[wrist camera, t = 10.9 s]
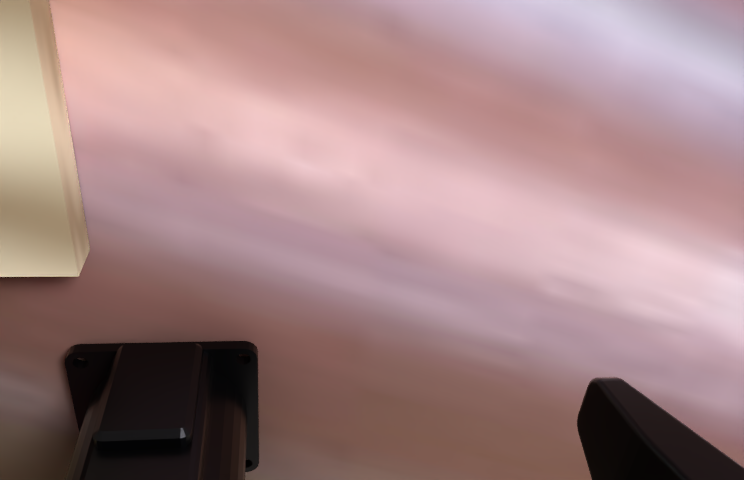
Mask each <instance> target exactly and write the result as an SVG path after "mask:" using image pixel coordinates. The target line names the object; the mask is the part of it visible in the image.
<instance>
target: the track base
mask: <svg viewBox="0 0 744 480" xmlns="http://www.w3.org/2000/svg"><path fill="white" fill-rule="evenodd" d="M89 251H90V246H89V240H88V234H87V228H86V222H85V216H84V210H83V204H82V198H81V191H80V185H79V179H78V173H77V167H76V161H75V155H74V149H73V143H72V137H71V131H70V125H69V119H68V113H67V107H66V101H65V95H64V89H63V83H62V77H61V71H60V64H59V58H58V52H57V46H56V40H55V34H54V28H53V22H52V16H51V10H50V4H49V0H0V277H75V276H79V275H80V272H81V270H82V267H83V265H84V263H85V260H86V258H87V256H88V253H89Z"/></svg>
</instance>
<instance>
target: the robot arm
mask: <svg viewBox="0 0 744 480" xmlns="http://www.w3.org/2000/svg"><path fill="white" fill-rule="evenodd" d="M240 354H247V355H249V356H247V357H240V356H239V355H240ZM79 357H80V358H84V359H86V361H82V360H79V359H77V358H79ZM65 366H66V371H67V376H68V380H69V385H70V390H71V395H72V399H73V404H74V409H75V414H76V418H77V423H78V428H79V436H78V440H77V443H76V446H75V449H74V452H73V455H72V459H71V462H70V465H69V468H68V471H67V475H66V478H65V480H245V472H249V471H252V470H254V469H256V468H257V467H258V464H259V414H258V350H257V347H256V346H255V345H254V344H253V343H250V342H247V341H222V342H171V343H120V344H80V345H75V346H73V347H71V348H70V350H69V351H68V353H67V356H66V359H65ZM577 427H578V432H579V436H580V440H581V443H582V447H583V450H584V453H585V457H586V460H587V464H588V467H589V471H590V474H591V478H592V480H744V468H743V467H742V466H741V465H739V464H738V463H736V462H735V461H734V460H732V459H731V458H730V457H728V456H727V455H725V454H724V453H723V452H721V451H720V450H719V449H717V448H716V447H714V446H713V445H712V444H710V443H709V442H708V441H706V440H705V439H703V438H702V437H701V436H699V435H698V434H697V433H695V432H694V431H692V430H691V429H690V428H688V427H687V426H686V425H684V424H683V423H682V422H680V421H679V420H677V419H676V418H675V417H673V416H672V415H671V414H669V413H668V412H666V411H665V410H664V409H662V408H661V407H660V406H658V405H657V404H655V403H654V402H653V401H651V400H650V399H649V398H647V397H646V396H644V395H643V394H642V393H640V392H639V391H638V390H636V389H635V388H633V387H632V386H631V385H629V384H628V383H627V382H625V381H624V380H622V379H620V378H617V377H604V378H594V379H592V380H591V381H590V383H589V385H588V387H587V390H586V393H585V396H584V399H583V402H582V405H581V408H580V411H579V414H578V419H577ZM246 459H248V460H246Z"/></svg>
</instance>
